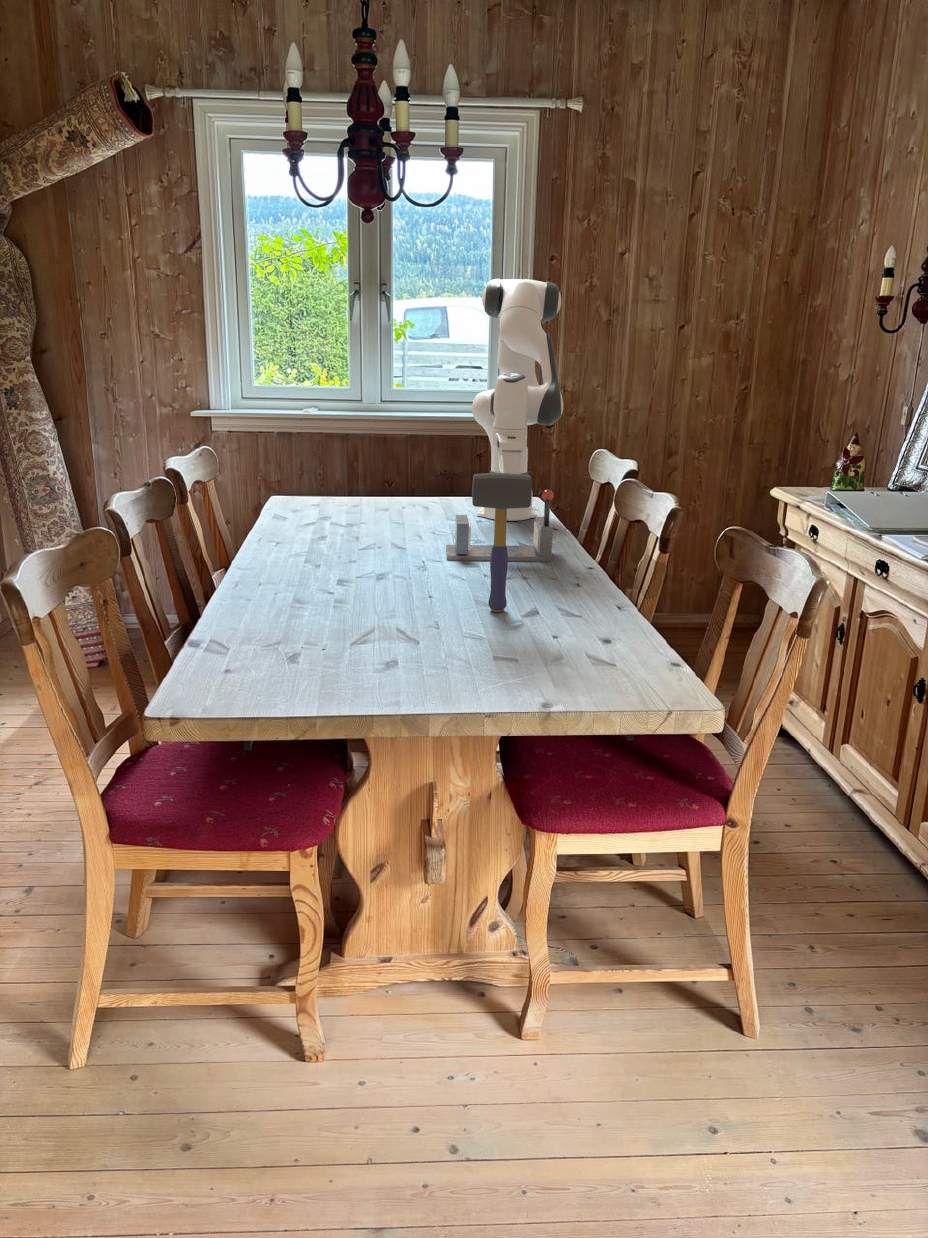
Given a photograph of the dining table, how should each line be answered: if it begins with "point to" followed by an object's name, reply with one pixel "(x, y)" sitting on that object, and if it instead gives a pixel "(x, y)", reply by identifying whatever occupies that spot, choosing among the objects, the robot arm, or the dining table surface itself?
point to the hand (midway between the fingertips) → (507, 492)
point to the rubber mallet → (500, 521)
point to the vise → (517, 553)
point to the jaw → (462, 534)
